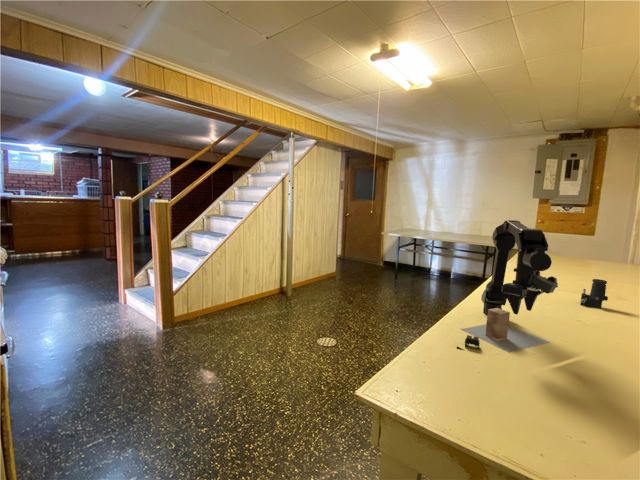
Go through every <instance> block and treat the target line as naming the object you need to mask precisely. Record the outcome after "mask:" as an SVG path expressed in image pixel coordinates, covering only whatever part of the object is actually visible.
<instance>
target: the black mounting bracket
mask: <svg viewBox="0 0 640 480" xmlns="http://www.w3.org/2000/svg"><path fill="white" fill-rule="evenodd" d="M480 344H481V342H480V338H478V337H475V336H473V335H470V334H468V335H467V334H466V337H465V339H464V347H465V348H467V345H468V346H470V345H473V346H474V349H475V350H479V348H480V346H481V345H480ZM476 347H477V348H476ZM456 350H461V351H466V350H465V349H463V348H461V347H459V346H456Z"/></svg>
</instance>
